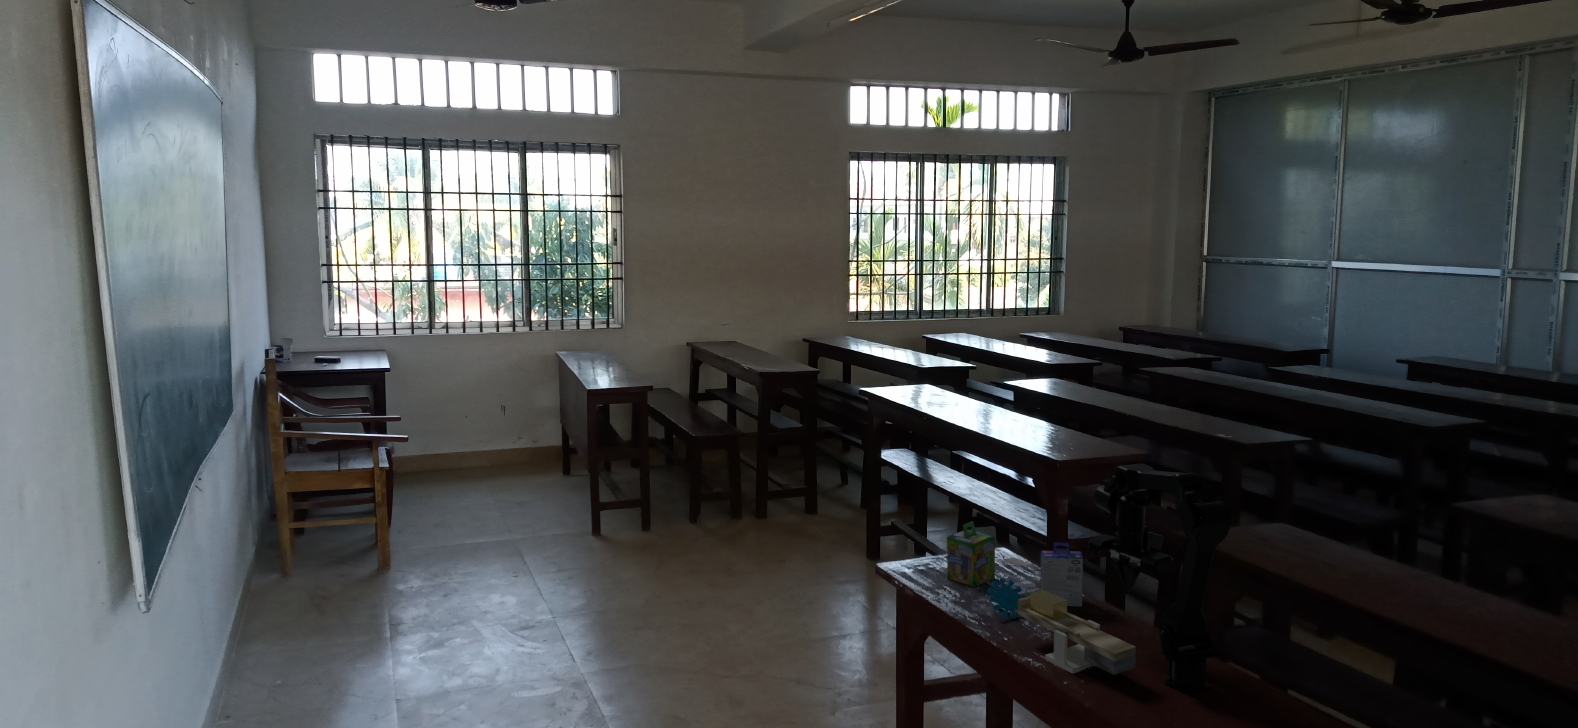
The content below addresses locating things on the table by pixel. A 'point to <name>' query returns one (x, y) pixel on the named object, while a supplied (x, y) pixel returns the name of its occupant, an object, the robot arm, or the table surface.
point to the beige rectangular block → (1048, 605)
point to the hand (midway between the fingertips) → (1128, 590)
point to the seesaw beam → (1087, 639)
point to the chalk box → (970, 556)
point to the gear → (1006, 597)
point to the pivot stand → (1068, 654)
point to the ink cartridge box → (1063, 573)
